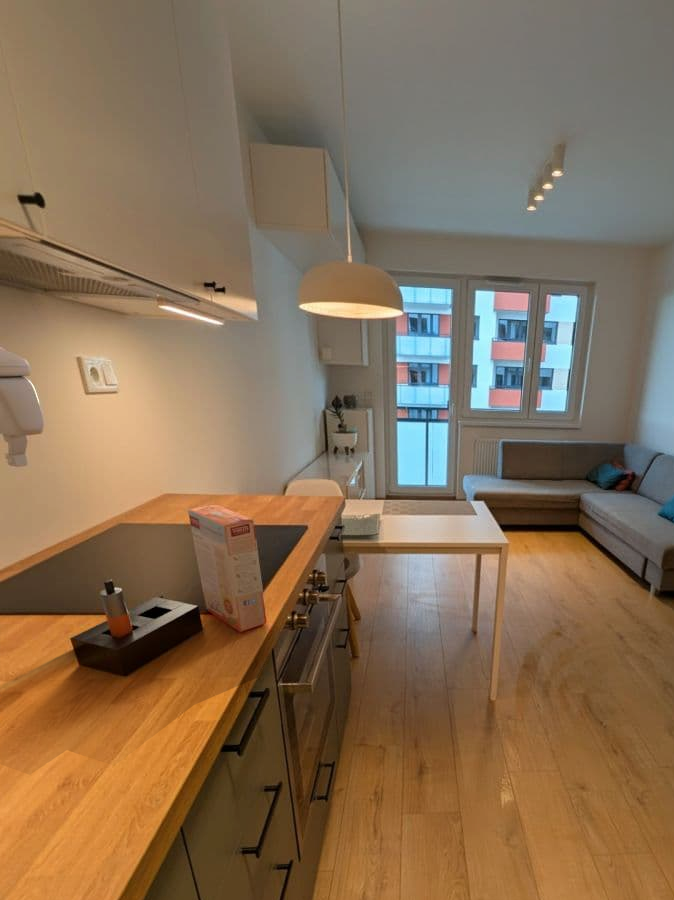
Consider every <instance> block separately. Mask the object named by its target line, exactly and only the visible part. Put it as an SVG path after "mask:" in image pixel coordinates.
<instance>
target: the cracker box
mask: <svg viewBox="0 0 674 900" xmlns="http://www.w3.org/2000/svg"><path fill="white" fill-rule="evenodd" d="M187 513H188V519H189V523H190V529H191V533H192V539H193V545H194V550H195V555H196V560H197V567H198V571H199V578H200V583H201V584H200V585H201V589H202V594H203V599H204V603H205V604H204V605H205V610H206V611H208V612H209V613H211V614H212V615H214V616H215V617H216V618H218V619H219V620H221V621H223V622H224V623H225V624H226V625H228V626H230V627H231V628H232V629H234V630H236V632H239V633H243V632H245V631H248V630H252V629H255V628H257V627H260V626H264V625H266V624H268V621H267V614H266V613H267V612H266V607H265V606H266V605H265V598H264V589H263V583H262V574H261V567H260V559H259V551H258V542H257V536H256V527H255V520H254V519H252V518H250V517H248V516H245V515H243V514H240V513H238V512H236V511H232V510H230V509H227V508H225V507H223V506H220V505H218V504H213V505H212V504H211V505H205V506H201V507H194V508H189V509H188V510H187Z"/></svg>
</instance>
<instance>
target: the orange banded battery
mask: <svg viewBox="0 0 674 900" xmlns="http://www.w3.org/2000/svg"><path fill="white" fill-rule="evenodd" d="M103 585H104V589H103V590H101V591H100V592H99V596H100V600H101V602H102V606H103V609H104V613H105V618H106V621H107V622H108V625H109V629H110V632H111V636H114V637H118V638H120V637H122V636H124V635H126V634H128V633H130V632H132V631H133V628H132V625H131V621H130V617H129V613H128V608H127V603H126V600H125V596H124V593H123V589H122V588H121V587H115V585H114V581H113V580H112V579H106V580H103Z"/></svg>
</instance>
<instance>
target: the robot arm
mask: <svg viewBox="0 0 674 900" xmlns="http://www.w3.org/2000/svg"><path fill="white" fill-rule="evenodd" d="M31 375H32V371H31V367H30V364H29V362H28V360H26V359H25V358H23V357H21V356H19V355H17V354H14V353H12V352H11V351H9V350H7V349H5V348H4V347H2V346H0V435H2V437H3V440H4V443H8V444H7V448H8V450H7V453H5V454H4V457H5V459H6V460H7V465H8V466H10V467H15V468H20V467H27V466H28V464H29V462H28V459H27V455H26V452H27V446H28V438H27V436H34V435H35V436H36V435H41V434H43V432H44V429H45V419H44V415H43V411H42V407H41V404H40V400H39V397H38V394H37V391H36V389H35V386H34V385H33V383H32V382H31V381H30V379H28V378H27V377H30V376H31Z"/></svg>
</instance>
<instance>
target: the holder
mask: <svg viewBox="0 0 674 900" xmlns="http://www.w3.org/2000/svg"><path fill="white" fill-rule="evenodd" d="M127 611H128V613H129V617H130V621H131V625H132V628H133V631H132V632H130V633H128V634H126V635H124V636H122V637H120V638H118V637H114V636H111V632H110V629H109V625H108V622H107V620H105V621H103V622H101V623H99V624H96V625H95V626H92V627H91V628H89V629H87V630H84V631H82V632H80V633H78V634H76V635H74V636H72V637H70V638H69V640H70V643H71V646H72V649H73V652H74V655H75V658H76V662H77V664H78V665H79V666H82V667H86V668H90V669H94V670H98V671H101V672H105V673H109V674H113V675H117V676H120V677H125V678H126V677H128V676H129V675H131V674H132V673H135V672H137V671H138V670H139V669H141V668H143V667H144V666H146V665H148V664H149V663H151V662H153V661H154V660H156V659H157V658H159V657H160V656H163V655H164V654H165V653H168V652H169V651H171V650H172V649H174V648H176V647H177V646H180V645H181V644H182V643H184V642H186V641H187V640H189V639H191V638H192V637H193V636H195V635H197V634H199V633H201V632H202V631H204V627H203V622H202V616H201V612H200V607H199V605H196V604H192V603H191V604H190V603H186V602H183V601H177V600H171V599H167V598H162V597H158V596H155V597H153V598H151V599H149V600H147V601H145V602H142V603H141V604H139V605H136V606H135V607H133V608H130V609H127Z"/></svg>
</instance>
